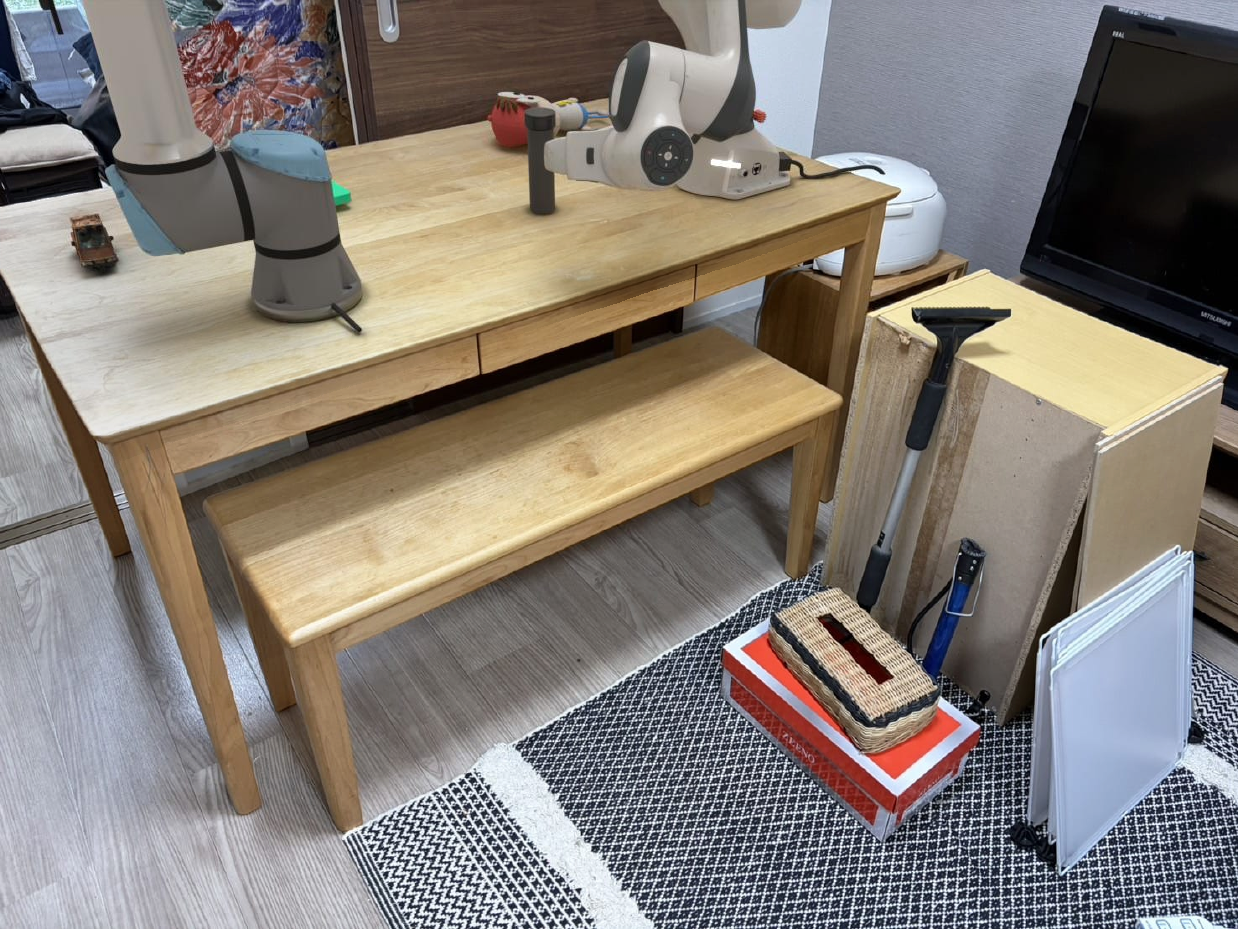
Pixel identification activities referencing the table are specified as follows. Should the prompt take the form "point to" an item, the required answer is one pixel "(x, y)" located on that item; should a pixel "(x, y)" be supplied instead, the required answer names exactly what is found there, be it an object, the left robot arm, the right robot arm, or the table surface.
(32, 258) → the table surface
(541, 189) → the dark grey cylinder
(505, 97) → the toy
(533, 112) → the lid
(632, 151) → the right robot arm
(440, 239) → the table surface
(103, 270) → the toy car
